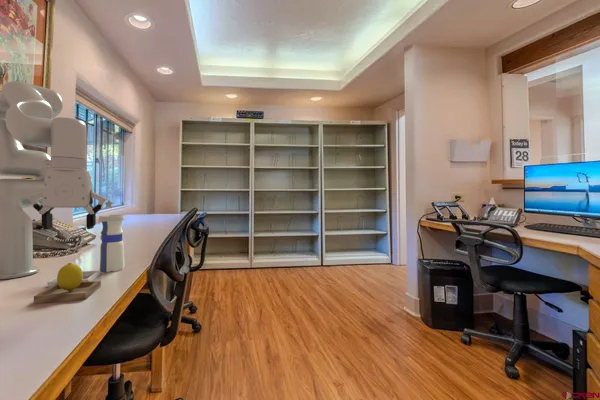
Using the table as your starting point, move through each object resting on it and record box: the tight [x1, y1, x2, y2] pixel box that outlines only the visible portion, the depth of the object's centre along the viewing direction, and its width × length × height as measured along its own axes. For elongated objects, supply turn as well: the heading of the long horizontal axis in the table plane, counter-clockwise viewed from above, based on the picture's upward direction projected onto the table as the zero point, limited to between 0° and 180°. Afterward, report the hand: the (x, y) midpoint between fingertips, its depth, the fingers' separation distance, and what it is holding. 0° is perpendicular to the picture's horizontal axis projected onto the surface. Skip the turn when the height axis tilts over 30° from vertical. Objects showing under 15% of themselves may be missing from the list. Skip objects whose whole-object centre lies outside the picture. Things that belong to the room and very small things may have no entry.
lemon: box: [56, 262, 84, 292], centre depth 79 cm, size 6×6×8 cm
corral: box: [46, 269, 101, 288], centre depth 92 cm, size 10×10×1 cm
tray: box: [33, 279, 102, 305], centre depth 79 cm, size 11×11×2 cm
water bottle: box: [97, 199, 126, 273], centre depth 104 cm, size 8×9×25 cm
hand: (69, 228), depth 79 cm, fingers open, 9 cm apart
